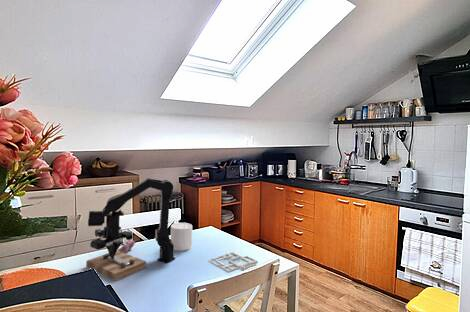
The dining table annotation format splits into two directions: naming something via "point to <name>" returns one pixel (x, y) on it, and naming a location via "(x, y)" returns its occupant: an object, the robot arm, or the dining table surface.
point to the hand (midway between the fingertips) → (112, 257)
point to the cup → (181, 236)
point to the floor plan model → (229, 255)
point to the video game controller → (127, 246)
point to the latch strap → (118, 260)
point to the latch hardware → (121, 263)
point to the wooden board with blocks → (116, 266)
